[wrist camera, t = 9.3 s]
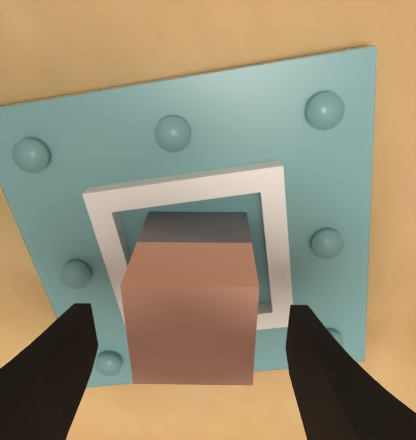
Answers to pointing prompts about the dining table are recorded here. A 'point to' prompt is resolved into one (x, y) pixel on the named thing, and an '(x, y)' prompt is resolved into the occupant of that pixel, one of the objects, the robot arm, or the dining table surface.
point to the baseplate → (204, 188)
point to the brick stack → (192, 300)
